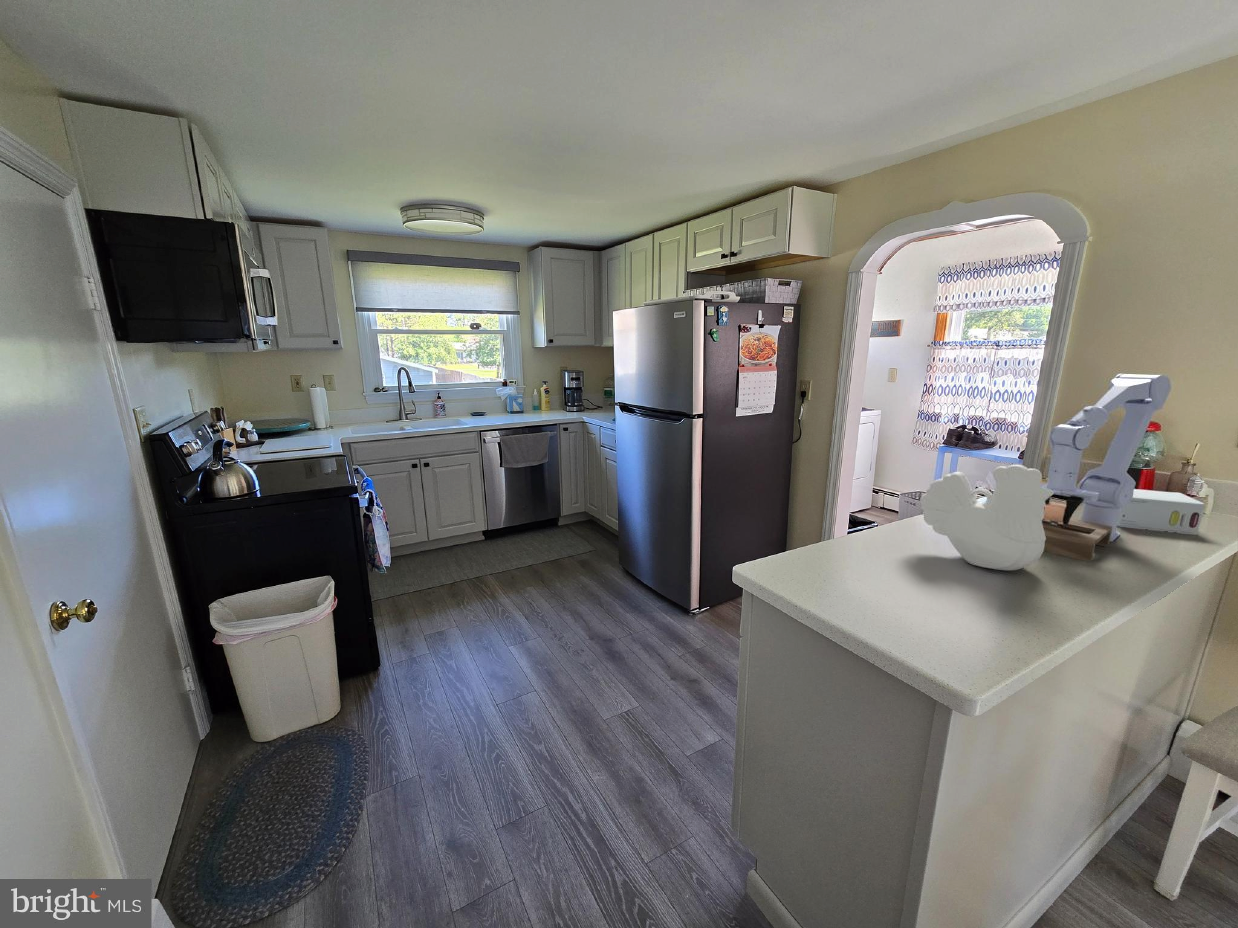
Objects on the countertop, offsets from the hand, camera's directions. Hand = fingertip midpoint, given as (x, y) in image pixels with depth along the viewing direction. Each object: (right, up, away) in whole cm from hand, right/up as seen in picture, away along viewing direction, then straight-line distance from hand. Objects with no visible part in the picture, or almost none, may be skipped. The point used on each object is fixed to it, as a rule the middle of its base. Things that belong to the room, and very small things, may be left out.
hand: (1054, 521), depth 131 cm
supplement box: (+39, -3, +14) cm, 42 cm away
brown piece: (0, -3, +1) cm, 3 cm away
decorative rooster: (-28, -8, -9) cm, 31 cm away
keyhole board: (+1, -6, 0) cm, 6 cm away
